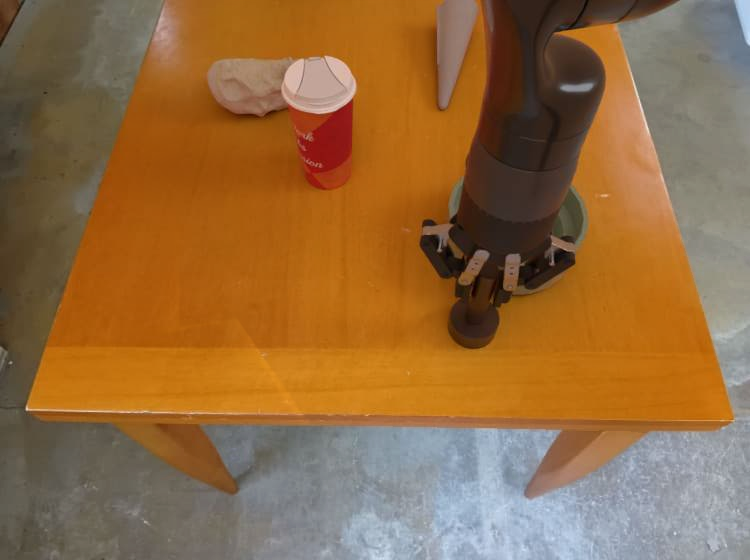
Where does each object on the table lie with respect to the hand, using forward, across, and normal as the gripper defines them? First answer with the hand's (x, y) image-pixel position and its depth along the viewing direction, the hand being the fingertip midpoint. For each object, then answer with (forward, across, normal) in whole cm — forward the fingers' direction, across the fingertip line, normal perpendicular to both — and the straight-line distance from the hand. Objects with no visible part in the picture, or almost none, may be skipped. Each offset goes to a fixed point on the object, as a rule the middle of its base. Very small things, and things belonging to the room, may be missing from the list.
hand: (480, 297), depth 56 cm
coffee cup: (+7, -20, +20) cm, 29 cm away
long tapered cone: (+7, -5, +43) cm, 44 cm away
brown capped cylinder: (+6, 0, 0) cm, 6 cm away
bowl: (+6, +4, +12) cm, 14 cm away
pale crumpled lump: (+7, -30, +32) cm, 45 cm away
